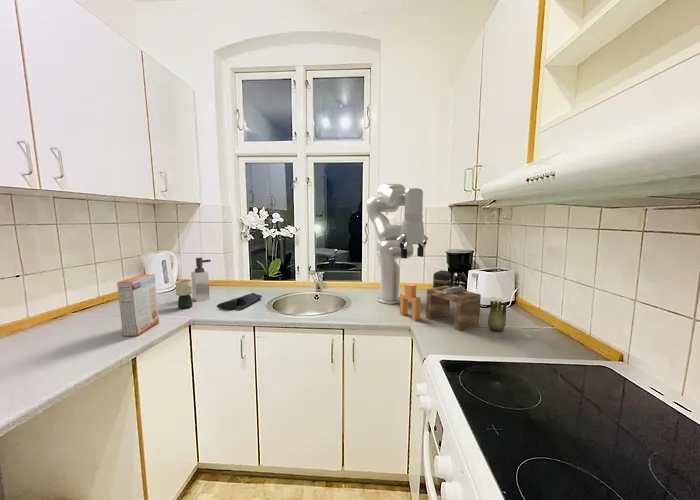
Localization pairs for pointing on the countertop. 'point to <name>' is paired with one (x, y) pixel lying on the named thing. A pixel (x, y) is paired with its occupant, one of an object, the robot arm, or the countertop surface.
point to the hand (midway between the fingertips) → (412, 257)
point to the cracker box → (138, 304)
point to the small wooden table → (464, 310)
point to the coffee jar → (442, 279)
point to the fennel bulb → (497, 316)
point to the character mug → (184, 293)
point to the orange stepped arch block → (410, 295)
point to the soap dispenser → (200, 282)
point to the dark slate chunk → (240, 302)
